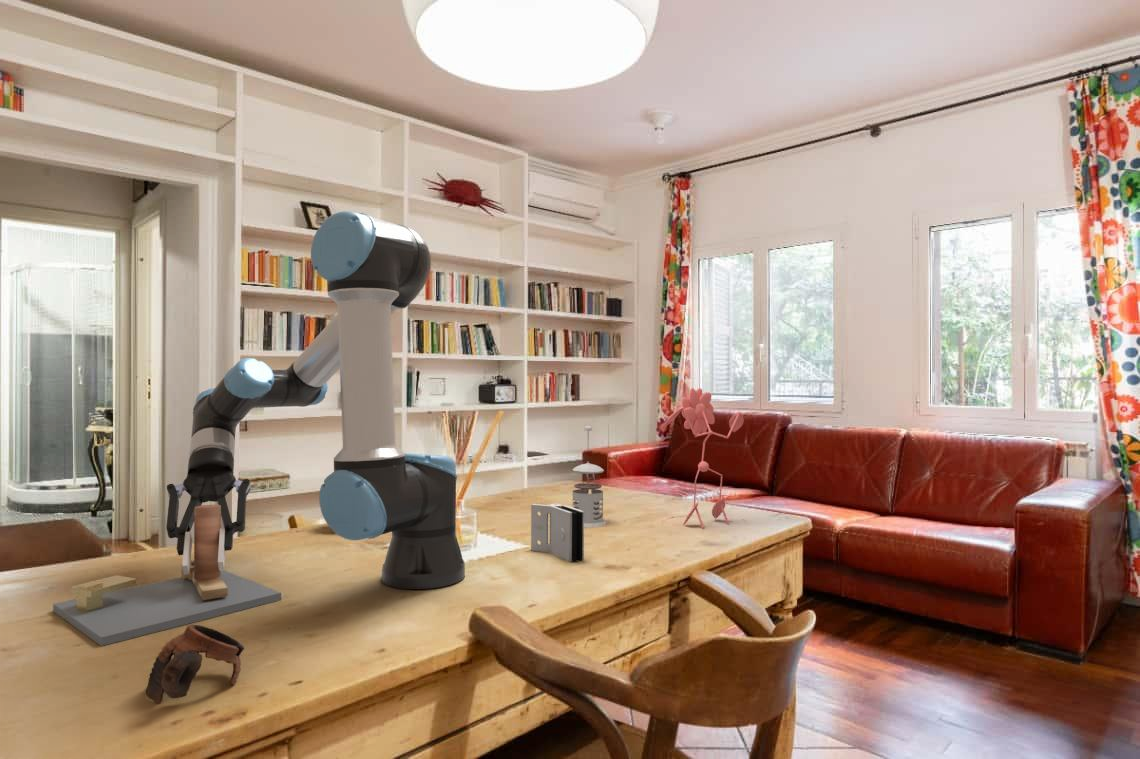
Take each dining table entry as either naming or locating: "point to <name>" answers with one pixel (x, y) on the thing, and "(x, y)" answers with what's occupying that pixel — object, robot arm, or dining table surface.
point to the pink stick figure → (697, 420)
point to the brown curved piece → (190, 660)
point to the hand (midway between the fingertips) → (203, 567)
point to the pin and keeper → (99, 591)
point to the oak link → (207, 553)
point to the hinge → (558, 531)
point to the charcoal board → (161, 607)
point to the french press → (589, 501)
